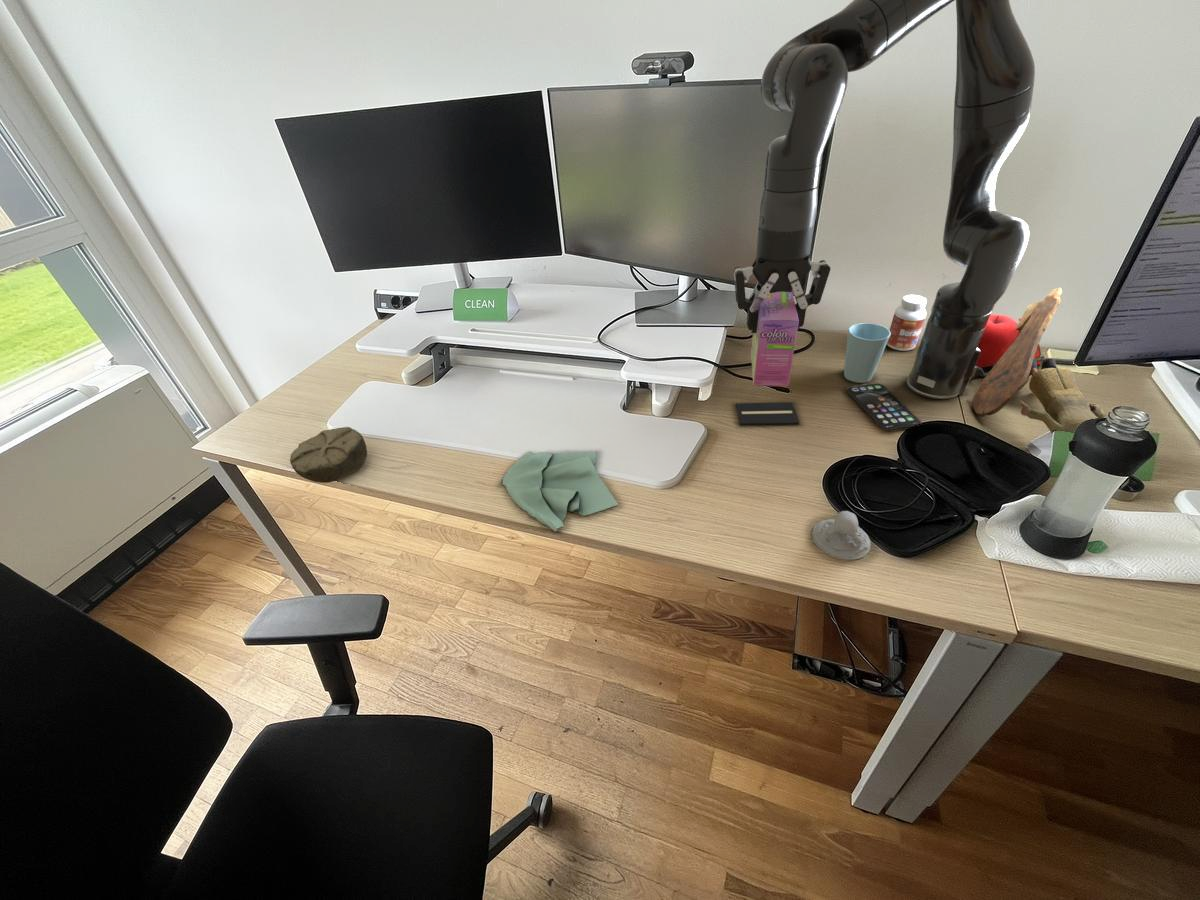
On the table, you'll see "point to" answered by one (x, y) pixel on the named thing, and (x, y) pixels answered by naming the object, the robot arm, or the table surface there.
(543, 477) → the cloth
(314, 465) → the stone
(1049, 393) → the figurine
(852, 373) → the cup
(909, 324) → the pill bottle
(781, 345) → the box
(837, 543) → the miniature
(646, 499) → the table surface
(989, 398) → the paddle
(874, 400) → the smartphone
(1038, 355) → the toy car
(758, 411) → the black striped rectangular slab
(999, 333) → the apple
